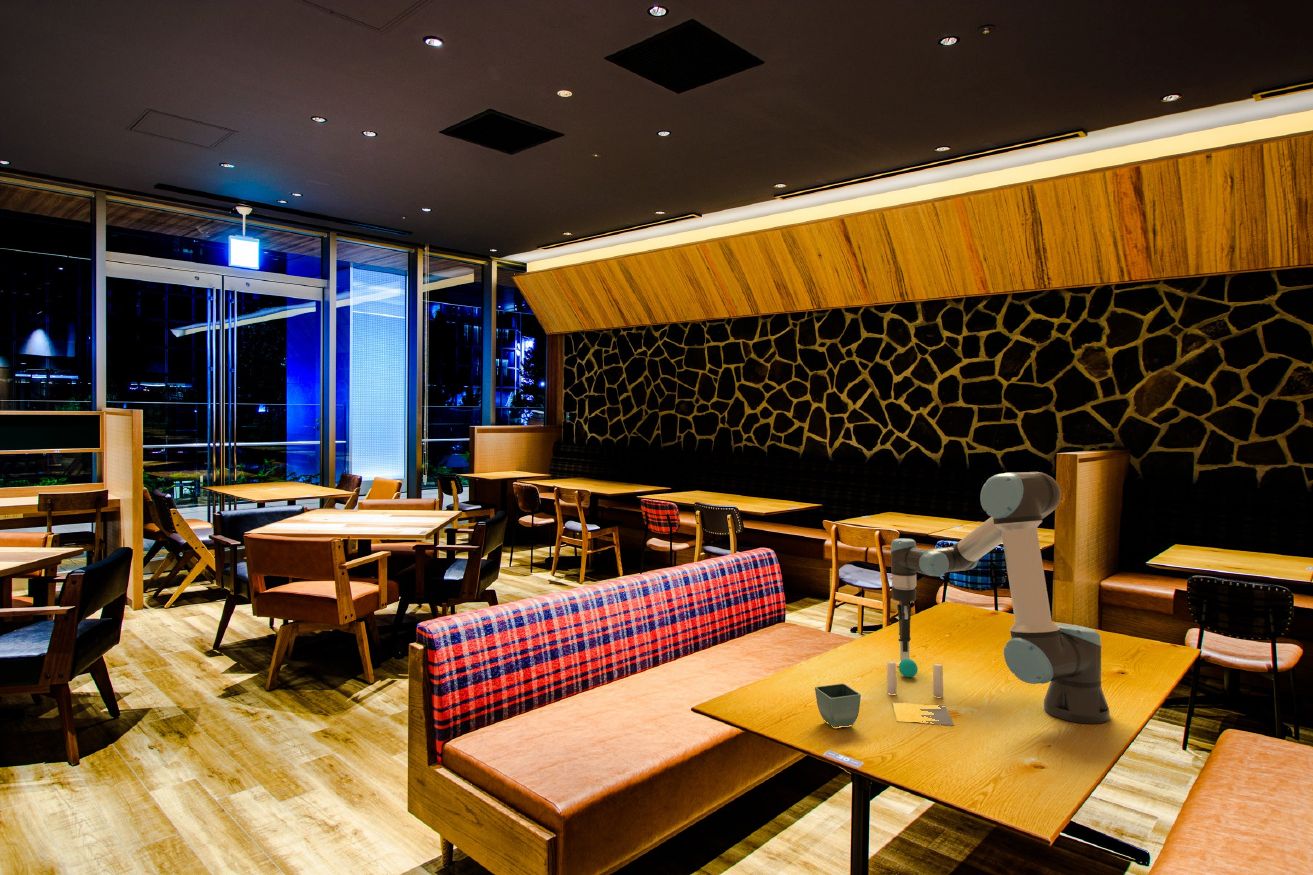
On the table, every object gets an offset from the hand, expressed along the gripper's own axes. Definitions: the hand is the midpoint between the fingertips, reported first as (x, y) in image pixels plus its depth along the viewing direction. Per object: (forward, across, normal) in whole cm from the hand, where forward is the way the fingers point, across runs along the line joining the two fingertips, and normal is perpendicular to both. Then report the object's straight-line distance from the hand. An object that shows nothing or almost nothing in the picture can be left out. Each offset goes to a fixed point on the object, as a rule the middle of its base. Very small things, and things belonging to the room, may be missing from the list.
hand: (904, 660), depth 232 cm
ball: (-1, +9, 0) cm, 9 cm away
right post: (+2, +25, +6) cm, 26 cm away
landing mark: (+2, +39, 0) cm, 39 cm away
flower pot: (+2, +51, -22) cm, 56 cm away
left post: (+2, +25, -6) cm, 26 cm away
